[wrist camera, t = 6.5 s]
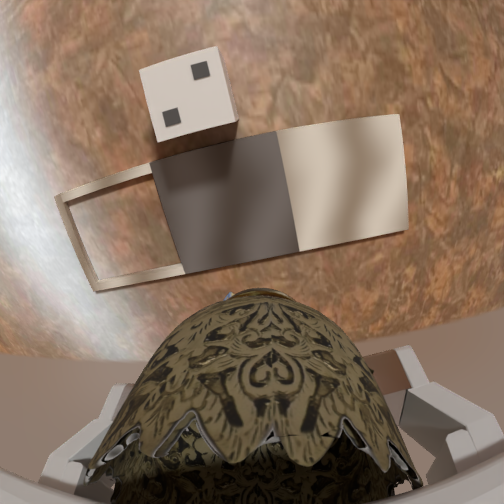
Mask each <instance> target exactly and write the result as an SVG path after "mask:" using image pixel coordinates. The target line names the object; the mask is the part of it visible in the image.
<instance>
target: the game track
mask: <svg viewBox="0 0 504 504" xmlns="http://www.w3.org/2000/svg"><path fill="white" fill-rule="evenodd" d="M150 173H152V174H153V177H154V181H155V184H156V187H157V191H158V194H159V197H160V200H161V203H162V207H163V210H164V213H165V216H166V219H167V222H168V225H169V228H170V231H171V234H172V237H173V240H174V243H175V246H176V249H177V252H178V255H179V258H180V260H181V264H176V265H171V266H166V267H161V268H156V269H151V270H146V271H141V272H136V273H132V274H127V275H122V276H117V277H112V278H107V279H102V280H98V278H97V275H96V273H95V271H94V269H93V266H92V264H91V262H90V260H89V257H88V255H87V253H86V250H85V248H84V245H83V243H82V241H81V238H80V236H79V233H78V230H77V228H76V225H75V223H74V220H73V217H72V215H71V212H70V209H69V207H68V204H67V201H69V200H72V199H74V198H77V197H80V196H83V195H85V194H88V193H91V192H94V191H97V190H100V189H103V188H106V187H109V186H112V185H115V184H118V183H121V182H124V181H127V180H130V179H133V178H137V177H140V176H143V175H146V174H150ZM54 198H55V201H56V204H57V207H58V209H59V212H60V215H61V217H62V220H63V223H64V225H65V228H66V230H67V233H68V235H69V238H70V240H71V243H72V245H73V248H74V250H75V252H76V255H77V257H78V259H79V261H80V264H81V266H82V268H83V270H84V273H85V275H86V277H87V279H88V281H89V283H90V285H91V288H92V290H93V291H99V290H104V289H109V288H115V287H120V286H125V285H131V284H136V283H141V282H146V281H152V280H157V279H162V278H167V277H173V276H178V275H183V274H188V273H193V272H198V271H204V270H209V269H214V268H219V267H224V266H229V265H234V264H239V263H245V262H250V261H255V260H260V259H265V258H270V257H275V256H280V255H285V254H290V253H295V252H300V251H305V250H310V249H315V248H320V247H325V246H330V245H335V244H340V243H344V242H349V241H354V240H359V239H364V238H369V237H374V236H379V235H383V234H388V233H393V232H398V231H403V230H408V199H407V182H406V169H405V158H404V148H403V139H402V131H401V124H400V117H399V114H392V115H381V116H372V117H363V118H355V119H347V120H340V121H333V122H326V123H319V124H313V125H307V126H301V127H295V128H290V129H284V130H279V131H274V132H269V133H264V134H259V135H254V136H250V137H245V138H240V139H236V140H232V141H227V142H223V143H219V144H215V145H211V146H207V147H203V148H199V149H195V150H192V151H188V152H184V153H181V154H177V155H173V156H170V157H166V158H163V159H160V160H156V161H153V162H150V163H146V164H143V165H140V166H137V167H134V168H131V169H128V170H125V171H122V172H119V173H116V174H113V175H110V176H107V177H104V178H101V179H98V180H96V181H93V182H90V183H87V184H85V185H82V186H79V187H77V188H74V189H71V190H69V191H66V192H64V193H61V194H59V195H57V196H55V197H54Z"/></svg>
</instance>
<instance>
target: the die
mask: <svg viewBox="0 0 504 504" xmlns="http://www.w3.org/2000/svg"><path fill="white" fill-rule="evenodd" d="M139 72H140V76H141V80H142V84H143V88H144V92H145V96H146V100H147V104H148V108H149V112H150V116H151V120H152V124H153V127H154V131H155V135H156V138H157V142H161V141H165V140H168V139H171V138H175V137H178V136H182V135H185V134H189V133H192V132H196V131H200V130H204V129H208V128H211V127H215V126H219V125H224V124H228V123H232V122H236V121H237V120H238V119H239V117H238V113H237V109H236V105H235V101H234V96H233V92H232V88H231V84H230V80H229V76H228V72H227V68H226V64H225V60H224V57H223V55H222V54H221V52H220V50H219V48H218V47H217V46H215V47H211V48H207V49H203V50H200V51H196V52H192V53H189V54H185V55H182V56H179V57H176V58H172V59H169V60H166V61H163V62H160V63H157V64H154V65H151V66H149V67H146V68H143V69H140V70H139Z"/></svg>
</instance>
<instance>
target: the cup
mask: <svg viewBox="0 0 504 504" xmlns="http://www.w3.org/2000/svg"><path fill="white" fill-rule="evenodd" d="M104 473H106V477H108V476H112V479H114V480H115V488H114V492H113V494H112V496H111V498H110V502H111V504H363V503H368V502H372V501H376V500H380V499H384V498H388V497H391V496H395V493H394V488H395V487H397V486H398V484H403V483H404V480H408V481H409V479H410V481H411V482H412V486H413V487H412V489H413V490H414V489H417V488H420V487H422V486H423V482H422V479H421V477H420V476H419V474H418V473H417V471H416V469H415V467H414V465H413V462H412V460H411V458H410V455H409V454H408V451H407V448H406V446H405V443H404V441H403V439H402V436H401V434H400V432H399V429H398V427H397V425H396V423H395V420H394V418H393V416H392V414H391V412H390V409H389V407H388V405H387V403H386V401H385V399H384V397H383V395H382V393H381V390H380V388H379V386H378V384H377V382H376V380H375V378H374V377H373V375H372V373H371V371H370V369H369V367H368V365H367V364H366V362H365V360H364V359H363V357H362V356H361V354H360V352H359V351H358V349H357V348H356V346H355V345H354V343H353V342H352V341H351V340H350V339H349V337H348V336H347V335H346V334H345V333H344V331H343V330H342V329H341V328H340V327H339V326H337V325H336V324H335V323H334V322H333V321H331V320H330V319H329V318H327V317H326V316H325V315H323V314H322V313H320V312H319V311H317V310H315V309H313V308H311V307H309V306H306V305H304V304H301V303H298V302H296V301H295V300H294V299H293V298H291V297H290V296H288V295H287V294H285V293H283V292H280V291H277V290H274V289H269V288H252V289H247V290H244V291H241V292H238V293H236V294H235V295H233V296H231V297H230V298H228V299H227V300H224V301H221V302H217V303H215V304H212V305H210V306H207V307H205V308H203V309H201V310H199V311H198V312H196V313H195V314H193V315H192V316H190V317H189V318H187V319H186V320H184V321H183V322H182V323H181V324H180V325H178V326H177V327H176V328H175V329H174V330H173V331H172V332H171V333H170V334H169V336H168V337H167V338H166V339H165V340H164V342H163V343H162V344H161V345H160V347H159V348H158V349H157V351H156V352H155V353H154V355H153V356H152V358H151V359H150V361H149V362H148V364H147V365H146V367H145V368H144V370H143V372H142V373H141V375H140V376H139V378H138V380H137V381H136V383H135V385H134V386H133V388H132V390H131V391H130V393H129V395H128V396H127V398H126V400H125V402H124V403H123V405H122V407H121V408H120V410H119V412H118V414H117V415H116V417H115V419H114V421H113V423H112V424H111V426H110V428H109V430H108V432H107V433H106V435H105V437H104V439H103V441H102V442H101V444H100V446H99V448H98V450H97V451H96V453H95V455H94V456H93V458H92V459H91V461H90V463H89V464H88V469H87V471H86V474H85V477H84V486H87V485H90V484H94V483H97V481H98V480H99V479H100V478H101V477H102V476H103V474H104ZM416 474H417V475H416ZM407 475H408V476H407ZM417 476H418V478H417ZM408 477H409V479H408ZM107 479H108V478H107ZM112 479H110V480H111V481H113V480H112ZM397 482H398V484H396V483H397ZM410 484H411V483H410Z"/></svg>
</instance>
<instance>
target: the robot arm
mask: <svg viewBox="0 0 504 504" xmlns="http://www.w3.org/2000/svg"><path fill="white" fill-rule="evenodd" d="M363 359H364V360H365V362H366V364H367V365H368V367H369V369H370V371H371V373H372V375H373V377H374V378H375V380H376V382H377V384H378V386H379V388H380V390H381V393H382V395H383V397H384V399H385V401H386V403H387V405H388V407H389V409H390V412H391V414H392V416H393V418H394V420H395V423H396V425H397V426H399V427H400V428H401V429H402V430H403V431H405V432H406V433H407V434H408V435H409V436H410V437H412V438H413V439H414V440H415V441H416V442H418V443H419V444H420V445H421V446H423V447H424V448H425V449H426V450H427V451H429V452H430V453H431V454H432V455H433V456H435V457H436V459H435V460H434V462H433V464H432V466H431V468H430V469H429V471H428V473H427V474H426V478H427V481H428V485H426V486H423V487H420V488H417V489H414V490H411V491H408V492H405V493H402V494H398V495H395V496H391V497H388V498H384V499H380V500H376V501H372V502H368V503H363V504H504V435H503V433H502V431H501V429H500V427H499V425H498V423H497V421H496V419H495V417H494V415H493V414H492V413H490V412H488V411H486V410H484V409H483V408H481V407H479V406H477V405H475V404H473V403H472V402H470V401H468V400H466V399H464V398H463V397H461V396H459V395H457V394H455V393H454V392H452V391H450V390H448V389H446V388H445V387H443V386H441V385H439V384H438V383H436V382H431V383H430V382H429V380H428V378H427V376H426V374H425V373H424V370H423V368H422V366H421V364H420V362H419V361H418V359H417V357H416V355H415V353H414V351H413V349H412V347H411V346H410V345H407V346H403V347H400V348H396V349H393V350H388V351H384V352H380V353H376V354H372V355H368V356H364V357H363ZM134 385H135V384H117V383H116V384H115V385H114V386H112V388H111V391H110V393H109V395H108V397H107V400H106V402H105V404H104V406H103V409H102V411H101V414H100V416H99V418H98V419H94V420H93V421H92V422H90V423H89V424H88V425H87V426H85V427H84V428H83V429H82V430H80V431H79V432H78V433H77V434H75V435H74V436H73V437H72V438H70V439H69V440H68V441H67V442H66V443H64V444H63V445H62V446H60V447H59V448H58V449H56V450H55V451H54V452H53V453H51V454H50V456H49V458H48V460H47V463H46V465H45V467H44V470H43V472H42V474H41V477H40V479H39V482H38V483H37V482H35V481H32V480H29V479H27V478H24V477H22V476H19V475H17V474H15V473H13V472H10V471H8V470H6V469H3V468H1V467H0V504H111V502H110V498H111V496H112V494H113V492H114V490H113V489H111V487H112V486H113V484H114V483H115V480H114V479H112V476H108V477H106V473H104V474H103V476H102V477H101V478H100V479H99V480H98V481H97V483H94V484H90V485H87V486H84V477H85V474H86V471H87V469H88V464H89V463H90V461H91V459H92V458H93V456H94V455H95V453H96V451H97V450H98V448H99V446H100V444H101V442H102V441H103V439H104V437H105V435H106V433H107V432H108V430H109V428H110V426H111V424H112V423H113V421H114V419H115V417H116V415H117V414H118V412H119V410H120V408H121V407H122V405H123V403H124V402H125V400H126V398H127V396H128V395H129V393H130V391H131V390H132V388H133V386H134ZM107 478H108V479H107ZM110 479H112V480H113V481H111V480H110Z"/></svg>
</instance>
